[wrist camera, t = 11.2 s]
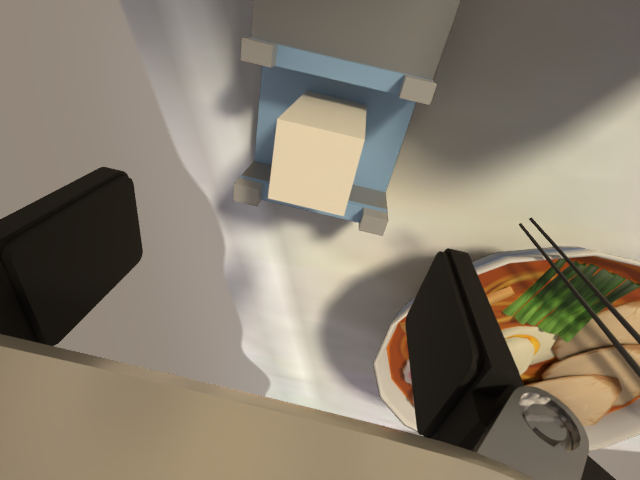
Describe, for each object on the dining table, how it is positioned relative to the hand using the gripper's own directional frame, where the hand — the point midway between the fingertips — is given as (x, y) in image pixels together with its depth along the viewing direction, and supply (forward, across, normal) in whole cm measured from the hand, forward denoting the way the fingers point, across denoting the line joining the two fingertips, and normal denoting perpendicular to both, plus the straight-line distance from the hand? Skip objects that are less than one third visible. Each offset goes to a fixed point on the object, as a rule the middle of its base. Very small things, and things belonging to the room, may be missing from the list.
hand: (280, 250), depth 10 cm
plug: (+15, 0, 0) cm, 15 cm away
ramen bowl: (+16, -18, +13) cm, 28 cm away
